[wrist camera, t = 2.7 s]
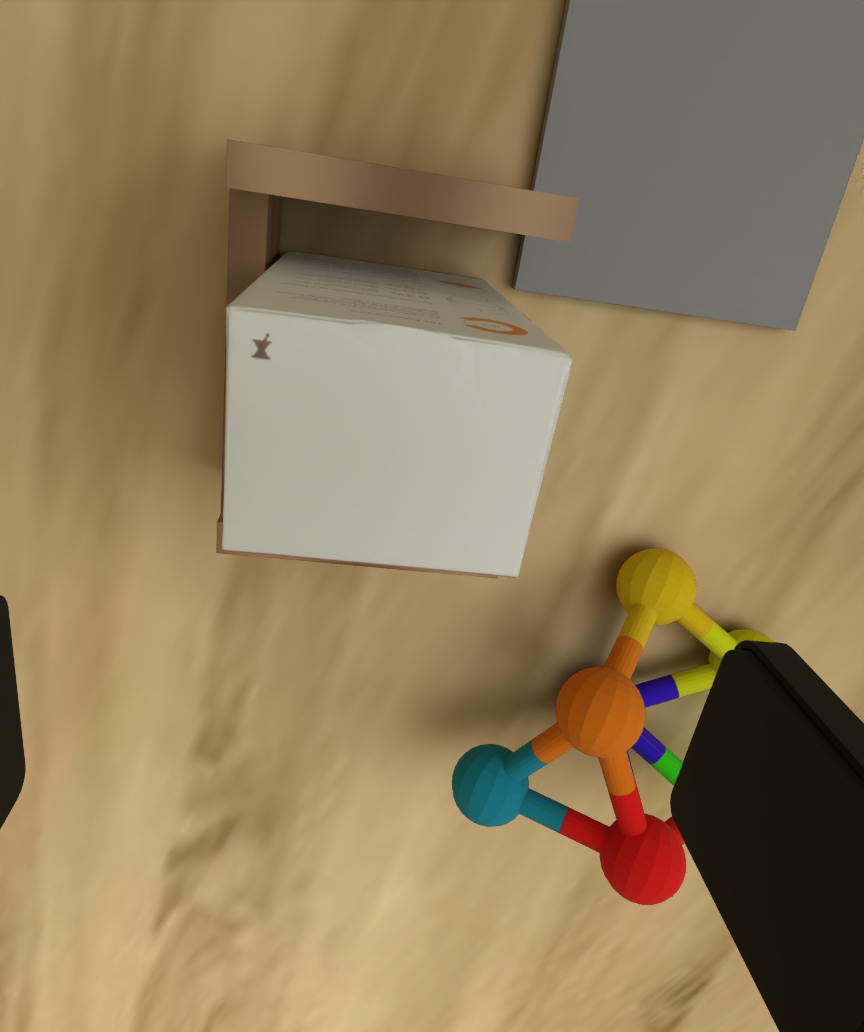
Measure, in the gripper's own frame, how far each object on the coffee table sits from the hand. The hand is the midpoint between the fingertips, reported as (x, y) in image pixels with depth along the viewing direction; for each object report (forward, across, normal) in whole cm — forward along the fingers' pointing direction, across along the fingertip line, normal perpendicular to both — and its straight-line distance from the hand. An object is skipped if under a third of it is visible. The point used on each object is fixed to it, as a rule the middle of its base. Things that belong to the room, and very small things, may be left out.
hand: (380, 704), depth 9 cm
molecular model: (+22, -15, +15) cm, 30 cm away
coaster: (+21, -12, -10) cm, 26 cm away
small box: (+22, 0, -1) cm, 22 cm away
